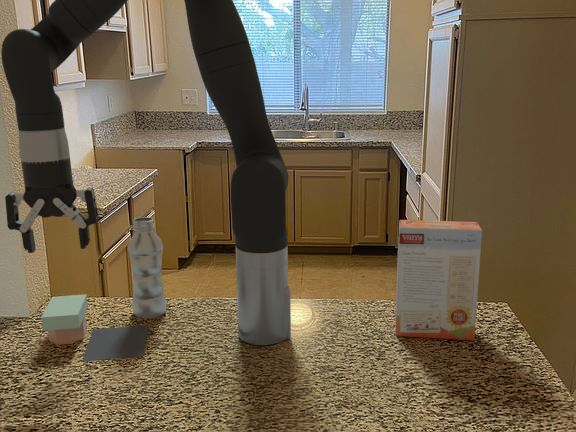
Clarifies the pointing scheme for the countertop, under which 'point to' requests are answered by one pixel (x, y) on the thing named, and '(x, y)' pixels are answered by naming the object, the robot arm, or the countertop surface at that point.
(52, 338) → the bowl
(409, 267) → the cracker box
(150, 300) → the plastic bottle
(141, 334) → the mat
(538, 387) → the countertop surface
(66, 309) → the block
